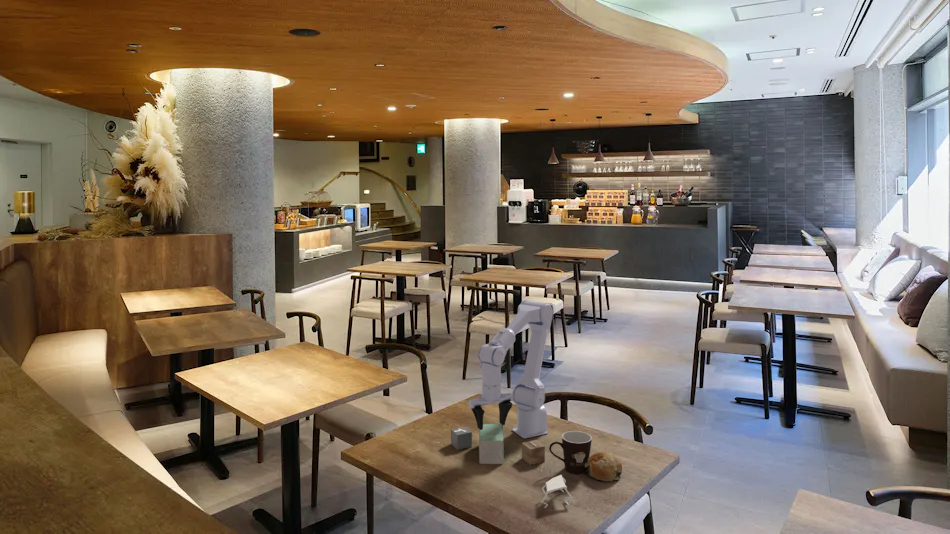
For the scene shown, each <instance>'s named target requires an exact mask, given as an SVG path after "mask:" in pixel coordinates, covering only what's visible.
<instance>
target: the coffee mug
mask: <svg viewBox="0 0 950 534" xmlns="http://www.w3.org/2000/svg"><path fill="white" fill-rule="evenodd" d="M561 440H562V441H561V442H560V441H554V442H552V443H550V445H549V447H548V449H549V452H550V453H551V455H552V456H554V457H555V458H557V459H558V460H560V461H562V462H563V463H564V470H565V472H567V473H569V474H571V475H576V476H579V475H580V474H581V475H585V474H586V473H587V470H586V468H585V464H586V463H587V460H588V458H589V457H590V456H591V455H590V453H591V448H592V440H593V438H592V435H591V434H589V433H588V432H585V431H580V430H569V431H565V432H563V433H562V434H561ZM554 445H559V446H560V447H561V449H562V452H563V458H562V457H560V456H559V455H557V454H555V453H554V451H552V447H553V446H554ZM584 473H585V474H584Z"/></svg>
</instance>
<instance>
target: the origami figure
mask: <svg viewBox="0 0 950 534" xmlns="http://www.w3.org/2000/svg"><path fill="white" fill-rule="evenodd" d="M566 482H567V480H566V479H565V478H564V477H563V474H559V475H556V476H555V477H552V478H551V479H549V480H548V481H545V484H544V485H543V486H542V488H541V491H542V492H543V494H544V497H543V498H542V499H541V501H540V504H544V505H545V506H544V509H546V508H547V507H548V505H549V504H548V503H546V502H545V500H547V499H548V495H549V494H550V493H553V492H555V491H561V492H562V493H567V495H568V497H565V498H564V499H563V500H564V502H565V504H566V505H567V506H570V504H569V502H568V500H571V499H574V497H573V496H572V495H571V493H570V492H569V490H568V486H567V485H566ZM545 488H546V491H545ZM563 489H564V490H565V492H564V490H563Z"/></svg>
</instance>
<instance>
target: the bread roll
mask: <svg viewBox="0 0 950 534" xmlns="http://www.w3.org/2000/svg"><path fill="white" fill-rule="evenodd" d="M585 468H586V470H587V472H586V473H587V474H588V475H589V476H590V477H591V478H593V479H594V480H596V481H602V482H603V481H604V482H614V481H613V480H617V481H618V480H620V477H621V475H622V473H623V466H622V463H621V461H620V458H618V457H617V456H615V454H614V453H611V452H607V451H601V452H595V453H593V454H591V455H589V458H588V460H587V463H586V464H585Z"/></svg>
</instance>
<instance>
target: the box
mask: <svg viewBox="0 0 950 534" xmlns="http://www.w3.org/2000/svg"><path fill="white" fill-rule="evenodd" d="M478 436H479V438H478V460H479V461H478V462H479V464H481V465H503V464H504V460H505V458H504V453H505V451H504V449H505V448H504V446H505V445H504V425H502V424H500V423H483V430H480V429H479V435H478Z"/></svg>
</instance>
